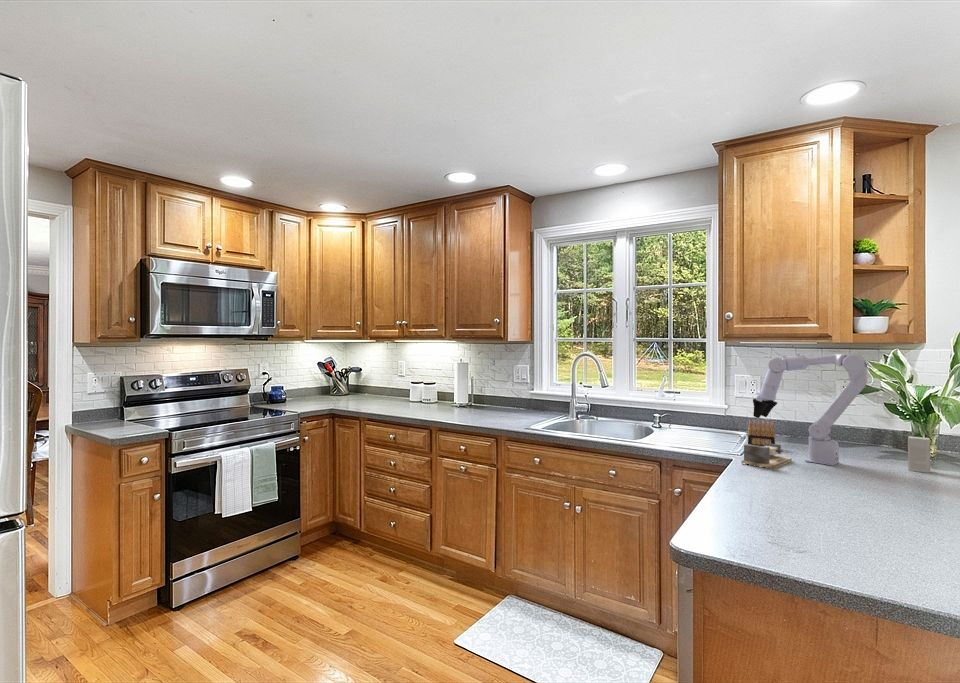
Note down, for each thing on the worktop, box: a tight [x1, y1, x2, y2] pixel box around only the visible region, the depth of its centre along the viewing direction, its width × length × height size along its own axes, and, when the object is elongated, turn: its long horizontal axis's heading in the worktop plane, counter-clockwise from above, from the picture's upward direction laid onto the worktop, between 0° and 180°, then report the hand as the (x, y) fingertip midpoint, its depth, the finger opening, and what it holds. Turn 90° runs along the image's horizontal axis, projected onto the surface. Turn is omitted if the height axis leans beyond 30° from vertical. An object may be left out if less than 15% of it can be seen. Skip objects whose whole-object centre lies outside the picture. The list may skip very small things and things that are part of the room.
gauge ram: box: [764, 442, 784, 456], centre depth 203 cm, size 8×8×4 cm
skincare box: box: [907, 435, 931, 474], centre depth 186 cm, size 6×4×12 cm
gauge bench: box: [741, 443, 793, 470], centre depth 200 cm, size 11×19×7 cm, turn 130°
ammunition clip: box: [747, 419, 776, 446], centre depth 228 cm, size 11×2×12 cm, turn 56°
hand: (759, 416), depth 214 cm, fingers open, 7 cm apart
